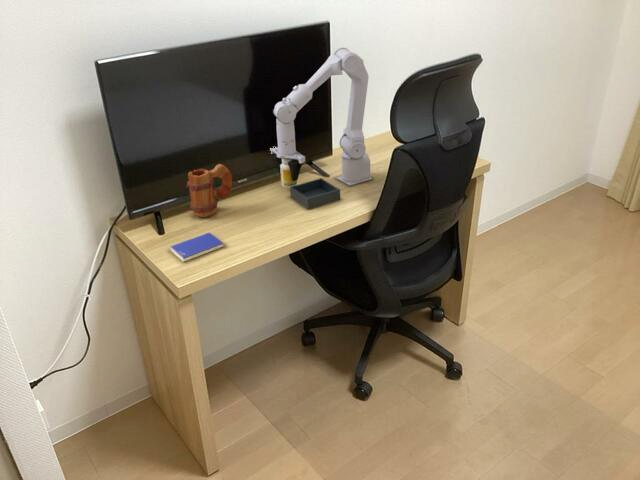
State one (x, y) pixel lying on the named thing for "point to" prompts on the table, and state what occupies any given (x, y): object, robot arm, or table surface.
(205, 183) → the mug
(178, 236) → the table surface
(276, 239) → the table surface
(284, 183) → the supplement bottle
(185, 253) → the hard drive
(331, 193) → the bin
